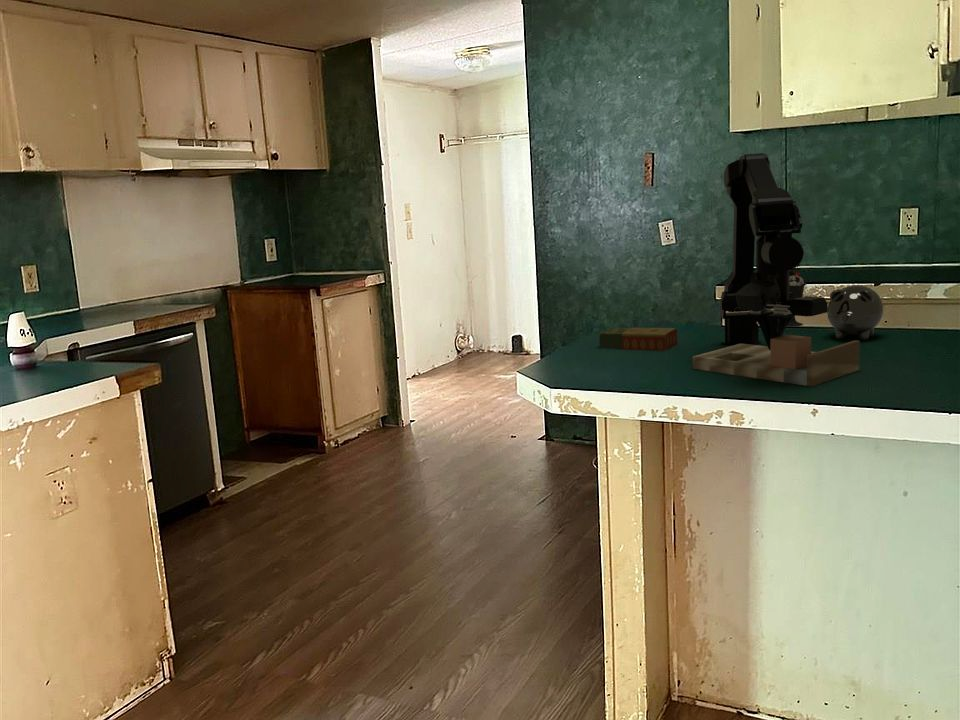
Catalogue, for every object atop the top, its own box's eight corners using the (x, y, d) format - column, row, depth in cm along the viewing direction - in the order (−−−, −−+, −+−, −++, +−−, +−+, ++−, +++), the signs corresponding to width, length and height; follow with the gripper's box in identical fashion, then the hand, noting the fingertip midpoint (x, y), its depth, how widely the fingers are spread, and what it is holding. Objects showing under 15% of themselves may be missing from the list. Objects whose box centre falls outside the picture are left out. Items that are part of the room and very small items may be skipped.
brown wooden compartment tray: (692, 368, 164) (692, 341, 163) (741, 355, 173) (740, 329, 172) (812, 386, 144) (812, 355, 143) (859, 369, 153) (859, 340, 152)
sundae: (807, 322, 205) (808, 262, 202) (805, 327, 199) (806, 265, 196) (779, 322, 208) (779, 263, 205) (776, 327, 202) (776, 265, 199)
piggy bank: (819, 342, 180) (820, 290, 178) (834, 330, 192) (835, 281, 190) (875, 344, 174) (876, 290, 172) (887, 332, 186) (888, 281, 184)
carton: (666, 352, 183) (665, 333, 182) (598, 350, 191) (598, 332, 191) (677, 345, 190) (677, 327, 189) (612, 343, 198) (611, 325, 197)
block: (770, 365, 150) (770, 338, 149) (786, 361, 153) (786, 334, 152) (795, 369, 146) (795, 341, 146) (811, 364, 149) (811, 337, 148)
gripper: (702, 269, 153) (703, 351, 156) (794, 271, 138) (793, 363, 141) (738, 263, 159) (739, 342, 162) (829, 265, 145) (828, 352, 148)
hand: (772, 350), depth 153 cm, fingers closed
